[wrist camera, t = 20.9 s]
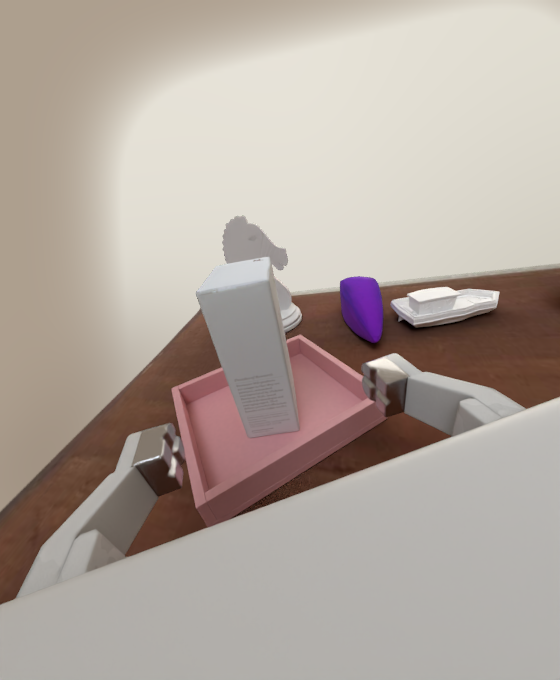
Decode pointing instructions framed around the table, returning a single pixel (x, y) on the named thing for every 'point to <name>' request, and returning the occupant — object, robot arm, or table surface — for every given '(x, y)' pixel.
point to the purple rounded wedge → (362, 307)
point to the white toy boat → (443, 305)
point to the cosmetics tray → (272, 450)
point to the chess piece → (253, 244)
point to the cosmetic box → (251, 344)
